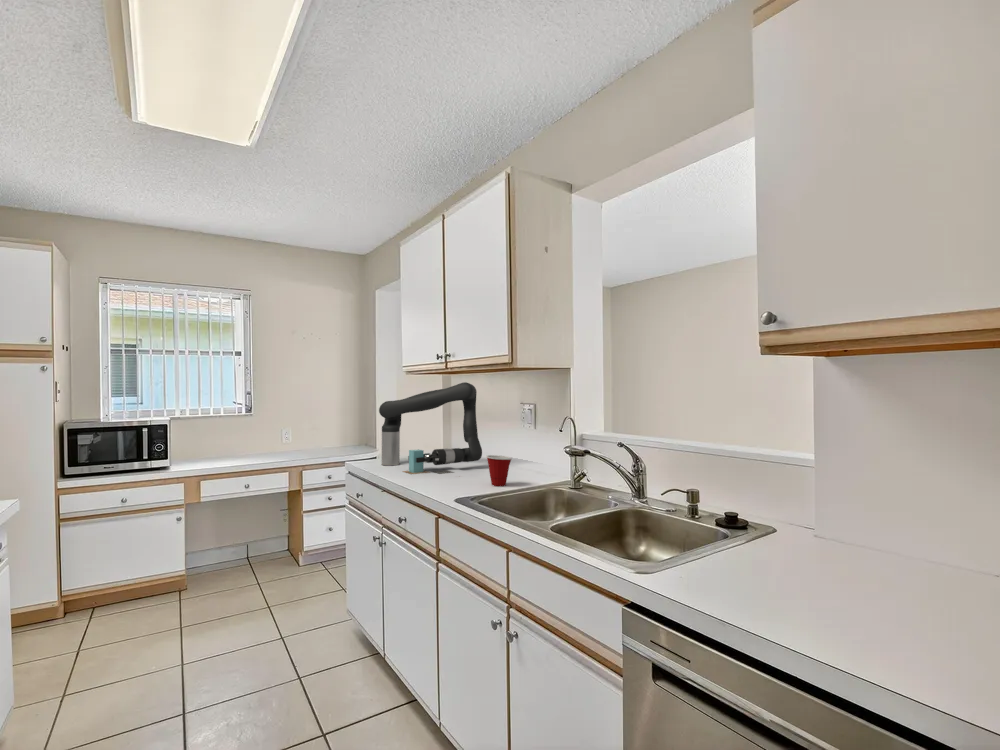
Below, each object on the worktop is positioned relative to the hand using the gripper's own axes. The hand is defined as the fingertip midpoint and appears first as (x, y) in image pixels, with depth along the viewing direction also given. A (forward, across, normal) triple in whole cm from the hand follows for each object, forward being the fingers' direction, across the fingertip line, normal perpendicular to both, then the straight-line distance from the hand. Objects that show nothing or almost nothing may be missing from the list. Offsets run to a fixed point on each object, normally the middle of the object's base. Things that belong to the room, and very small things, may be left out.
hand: (412, 459), depth 241 cm
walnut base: (-2, 0, +7) cm, 7 cm away
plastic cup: (-18, +45, +7) cm, 49 cm away
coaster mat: (-12, +8, +7) cm, 16 cm away
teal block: (-2, 0, +6) cm, 6 cm away
